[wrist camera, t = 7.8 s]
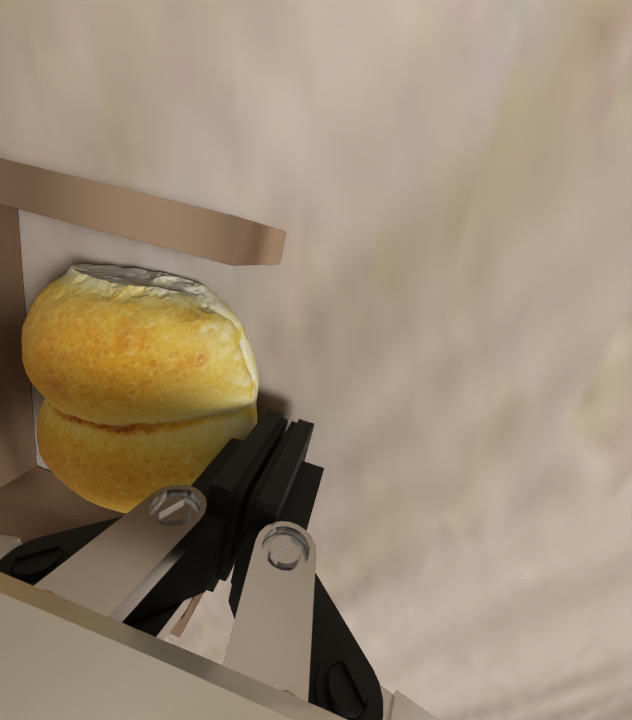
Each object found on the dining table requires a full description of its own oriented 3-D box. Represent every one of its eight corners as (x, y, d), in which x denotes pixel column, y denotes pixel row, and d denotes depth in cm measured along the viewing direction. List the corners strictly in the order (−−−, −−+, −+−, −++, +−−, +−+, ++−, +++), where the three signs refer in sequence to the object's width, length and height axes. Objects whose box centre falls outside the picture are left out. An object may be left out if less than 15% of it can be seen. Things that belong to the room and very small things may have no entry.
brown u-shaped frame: (285, 231, 10) (239, 217, 7) (225, 553, 15) (179, 637, 11) (-10, 158, 11) (-173, 115, 8) (20, 476, 16) (-75, 532, 13)
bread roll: (88, 453, 15) (-11, 518, 11) (71, 252, 12) (-71, 247, 8) (255, 501, 14) (207, 592, 10) (282, 292, 11) (228, 309, 7)
